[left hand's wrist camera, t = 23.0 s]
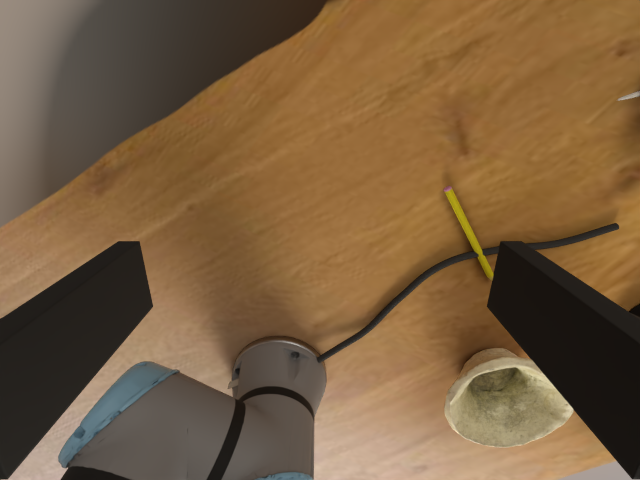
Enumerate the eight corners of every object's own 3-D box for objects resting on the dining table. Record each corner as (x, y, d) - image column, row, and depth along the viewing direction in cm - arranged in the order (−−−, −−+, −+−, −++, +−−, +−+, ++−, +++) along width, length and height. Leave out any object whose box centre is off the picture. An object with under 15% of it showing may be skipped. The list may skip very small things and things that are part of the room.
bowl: (520, 336, 59) (562, 428, 54) (420, 364, 59) (452, 458, 54) (568, 332, 45) (627, 453, 41) (438, 368, 46) (482, 492, 41)
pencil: (442, 189, 45) (444, 190, 44) (449, 185, 45) (452, 186, 44) (489, 282, 50) (492, 286, 49) (495, 279, 50) (498, 283, 49)
